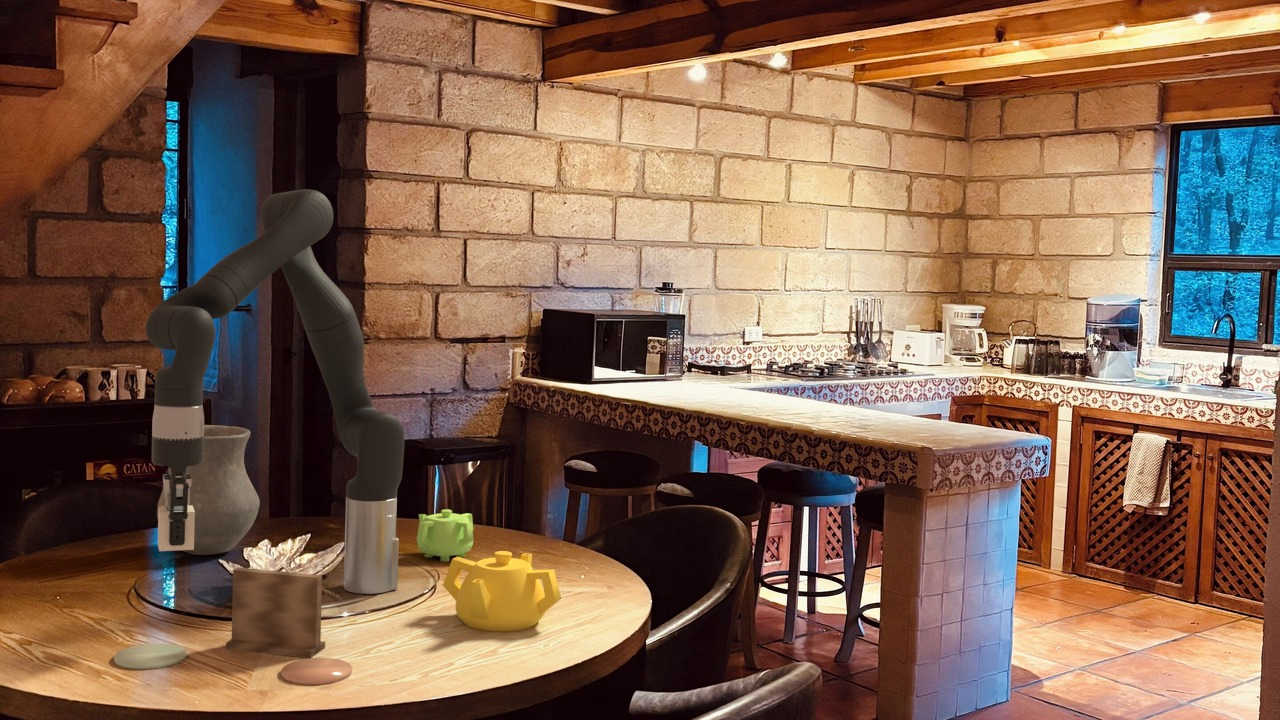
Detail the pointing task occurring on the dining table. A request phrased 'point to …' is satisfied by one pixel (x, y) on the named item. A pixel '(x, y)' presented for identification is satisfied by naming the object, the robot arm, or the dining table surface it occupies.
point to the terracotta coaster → (316, 671)
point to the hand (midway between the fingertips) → (175, 540)
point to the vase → (221, 492)
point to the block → (165, 524)
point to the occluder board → (276, 612)
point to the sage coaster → (150, 656)
